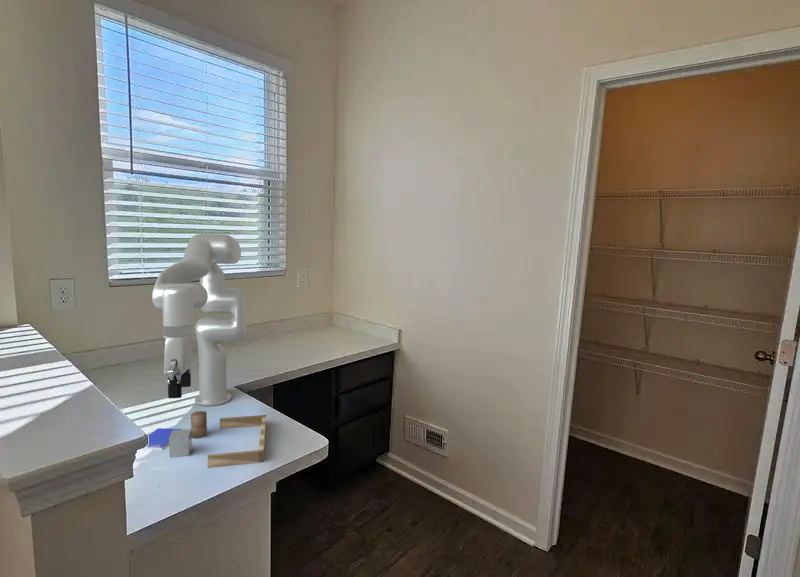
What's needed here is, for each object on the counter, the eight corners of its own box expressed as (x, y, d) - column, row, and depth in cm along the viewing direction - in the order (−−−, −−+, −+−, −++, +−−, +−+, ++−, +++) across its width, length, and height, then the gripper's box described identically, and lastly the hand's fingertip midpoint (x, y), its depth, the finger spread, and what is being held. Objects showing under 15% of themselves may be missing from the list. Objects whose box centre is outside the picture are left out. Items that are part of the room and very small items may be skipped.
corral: (220, 427, 145) (220, 418, 144) (266, 423, 149) (266, 414, 148) (207, 467, 119) (207, 456, 119) (263, 461, 123) (263, 451, 123)
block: (173, 450, 129) (172, 430, 128) (192, 448, 130) (191, 428, 129) (169, 457, 124) (168, 437, 124) (189, 456, 126) (188, 435, 125)
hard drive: (161, 446, 128) (182, 428, 141) (133, 446, 128) (156, 428, 141) (161, 451, 128) (182, 433, 141) (133, 451, 128) (156, 432, 141)
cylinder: (192, 433, 140) (192, 411, 139) (207, 431, 141) (207, 410, 140) (190, 439, 136) (189, 417, 135) (205, 437, 137) (205, 416, 136)
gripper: (172, 326, 130) (174, 383, 132) (153, 337, 114) (155, 403, 115) (200, 325, 132) (201, 382, 133) (185, 337, 115) (186, 401, 117)
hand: (180, 392), depth 124 cm, fingers open, 9 cm apart
